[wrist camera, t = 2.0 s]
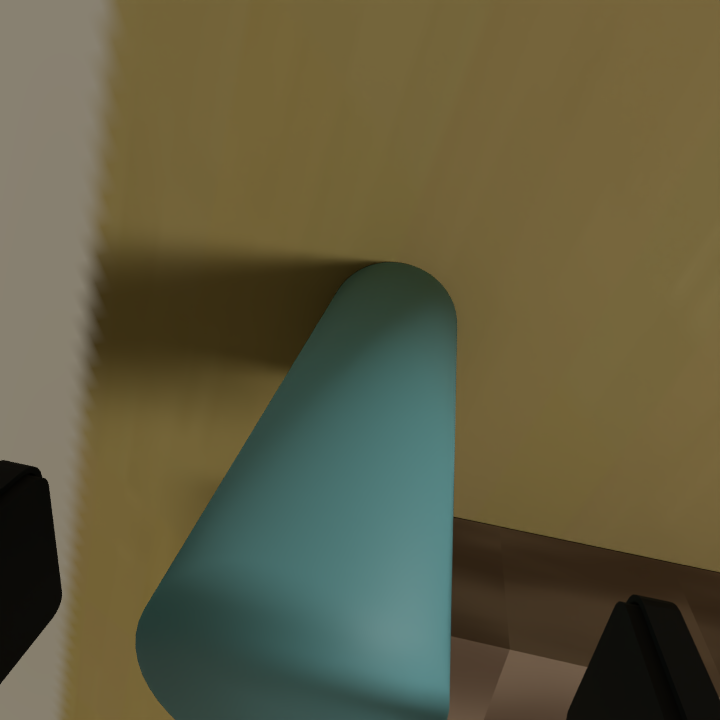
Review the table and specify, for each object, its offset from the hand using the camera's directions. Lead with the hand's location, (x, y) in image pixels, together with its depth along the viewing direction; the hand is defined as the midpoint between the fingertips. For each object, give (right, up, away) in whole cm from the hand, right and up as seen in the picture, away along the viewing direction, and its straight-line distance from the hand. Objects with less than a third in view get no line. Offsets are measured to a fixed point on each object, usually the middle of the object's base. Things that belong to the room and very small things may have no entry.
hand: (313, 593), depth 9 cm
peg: (+2, +5, +8) cm, 10 cm away
